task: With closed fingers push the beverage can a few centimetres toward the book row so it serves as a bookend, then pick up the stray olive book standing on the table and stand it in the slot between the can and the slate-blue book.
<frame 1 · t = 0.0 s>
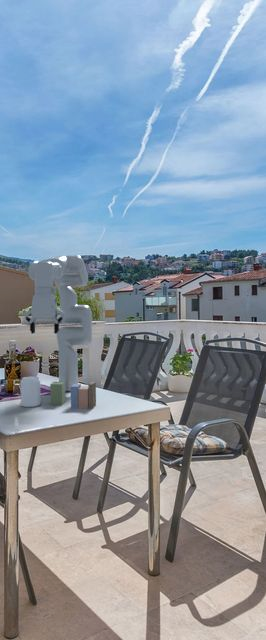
hand: (44, 333, 209), 31 cm above the table, tool pointing down, fingers open, 9 cm apart
blue book: (75, 406, 214), on the table
terracotta book: (84, 406, 213), on the table
olive book: (58, 403, 220), on the table
walnut bookend: (92, 406, 213), on the table
beverage can: (30, 406, 215), on the table
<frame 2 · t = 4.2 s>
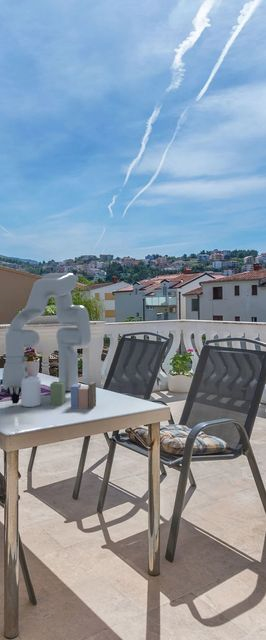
hand: (15, 402, 216), 1 cm above the table, tool pointing down, fingers closed
beverage can: (31, 406, 215), on the table, touching gripper
everything else where it was.
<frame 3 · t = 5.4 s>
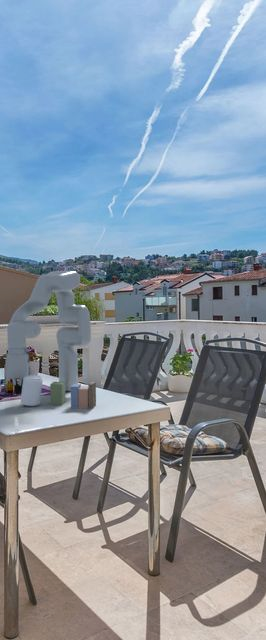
hand: (18, 394, 217), 5 cm above the table, tool pointing down, fingers closed
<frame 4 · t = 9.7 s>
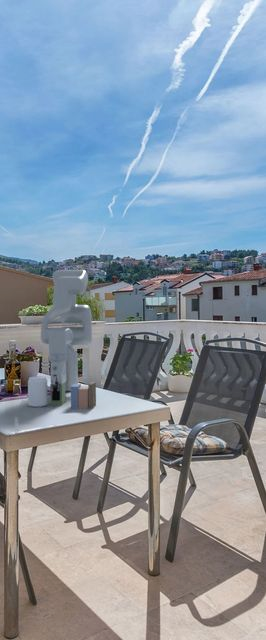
hand: (58, 398, 220), 2 cm above the table, tool pointing down, fingers closed on olive book, 6 cm apart
olive book: (58, 403, 220), on the table, touching gripper
beverage can: (37, 406, 216), on the table
everything else where it was.
when the fingers open (4 cm above the table, at t = 14.8 s): olive book drops 1 cm, on the table.
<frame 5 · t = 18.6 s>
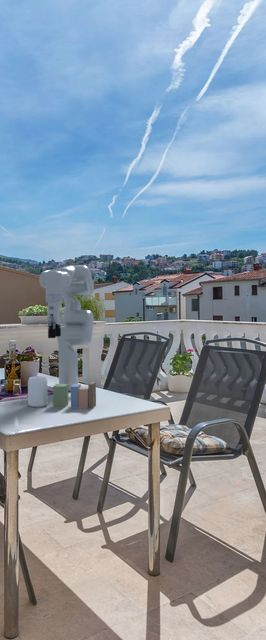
hand: (54, 337, 226), 28 cm above the table, tool pointing down, fingers open, 9 cm apart
olive book: (60, 406, 214), on the table
everything else where it was.
at the end: olive book 0.1 cm from the target spot, on the table; olive book tilted 0°; beverage can moved 3.0 cm from its start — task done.
